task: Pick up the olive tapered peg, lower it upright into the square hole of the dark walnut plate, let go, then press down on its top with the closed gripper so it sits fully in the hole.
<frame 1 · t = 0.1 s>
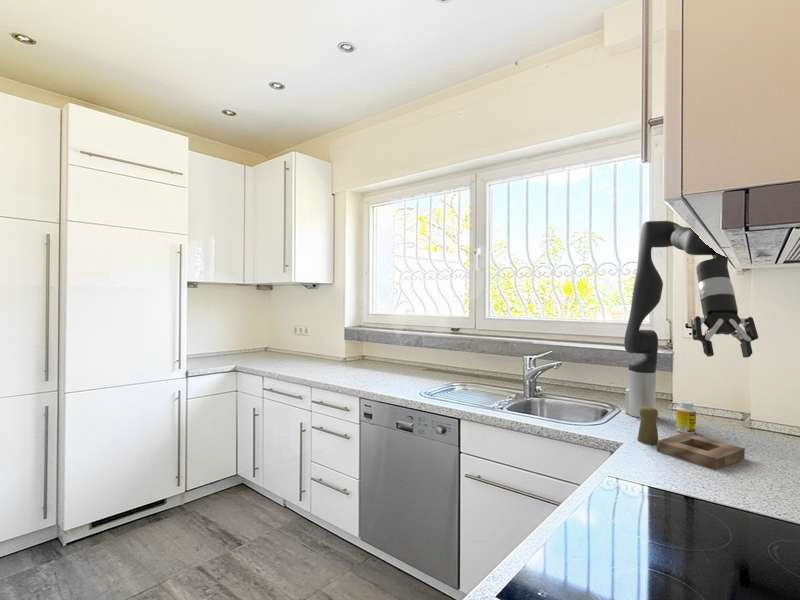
hand: (728, 356, 110), 31 cm above the worktop, tool tilted 20°, fingers open, 8 cm apart
supplement bottle: (685, 432, 147), on the worktop
olive tapered peg: (648, 442, 138), on the worktop
hole plate: (699, 454, 127), on the worktop
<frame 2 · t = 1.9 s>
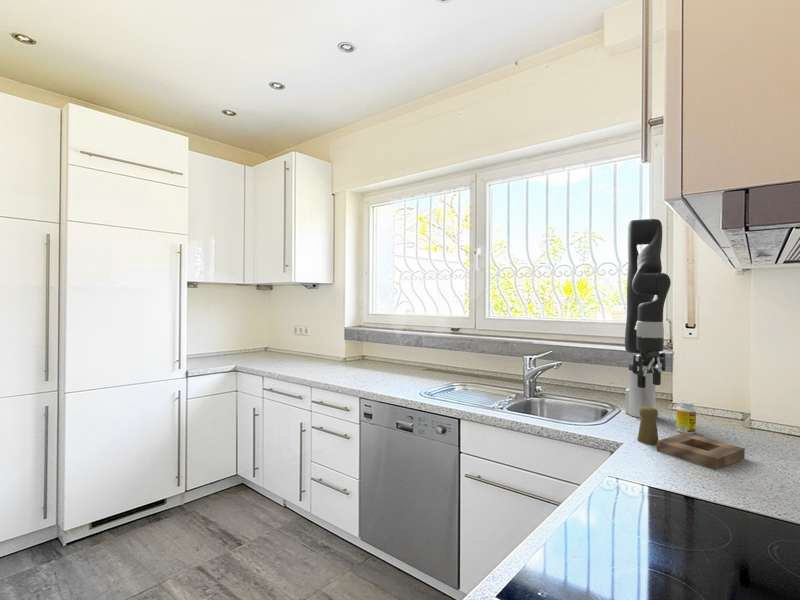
hand: (649, 386, 137), 18 cm above the worktop, tool pointing down, fingers open, 8 cm apart
nothing on the worktop moved.
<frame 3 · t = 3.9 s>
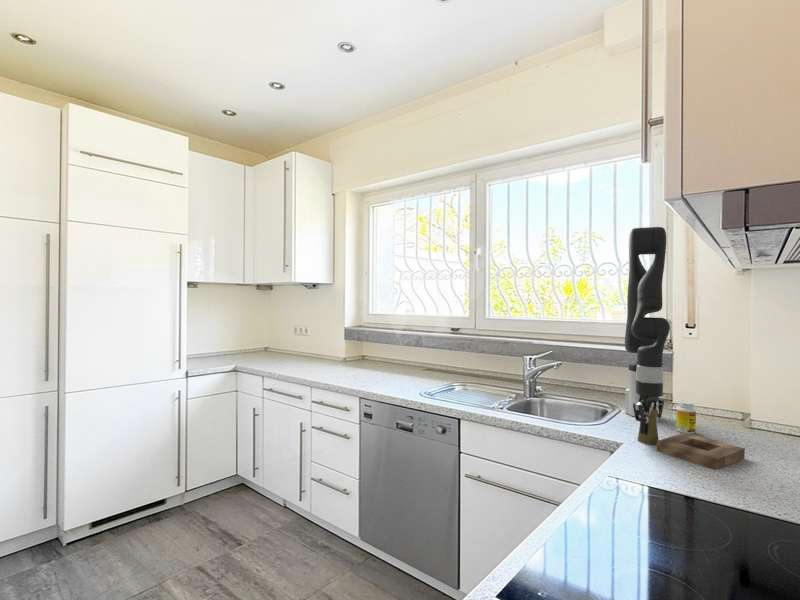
hand: (648, 432, 138), 3 cm above the worktop, tool pointing down, fingers closed on olive tapered peg, 4 cm apart
olive tapered peg: (648, 442, 138), on the worktop, touching gripper
everything else where it was.
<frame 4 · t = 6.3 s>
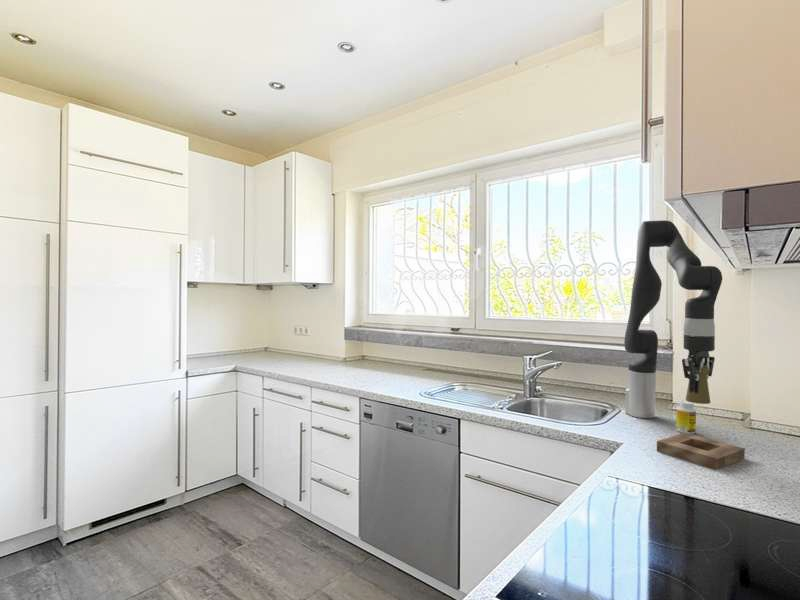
hand: (698, 391, 126), 19 cm above the worktop, tool pointing down, fingers closed on olive tapered peg, 4 cm apart
olive tapered peg: (697, 401, 127), point 16 cm above the worktop, touching gripper
everything else where it was.
when the fingers open (4 cm above the worktop, at t = 8.9 s): olive tapered peg stays where it is, resting in hole plate.
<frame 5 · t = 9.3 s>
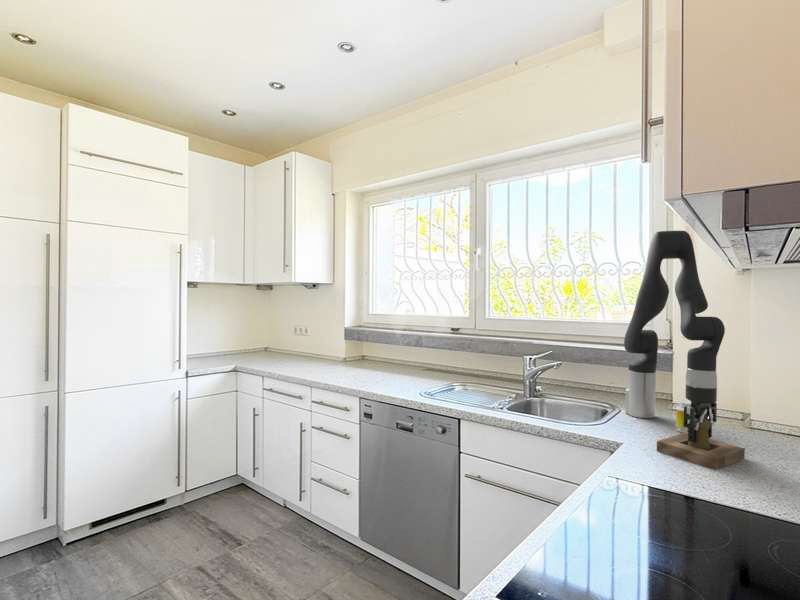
hand: (699, 439, 127), 4 cm above the worktop, tool pointing down, fingers open, 8 cm apart
olive tapered peg: (698, 455, 127), resting in hole plate
everything else where it was.
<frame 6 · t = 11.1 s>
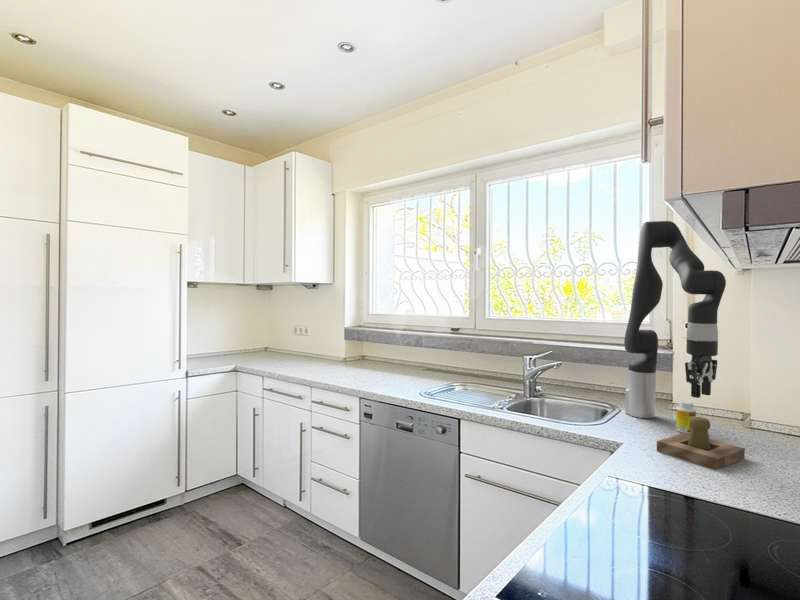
hand: (700, 395, 126), 17 cm above the worktop, tool pointing down, fingers open, 5 cm apart
nothing on the worktop moved.
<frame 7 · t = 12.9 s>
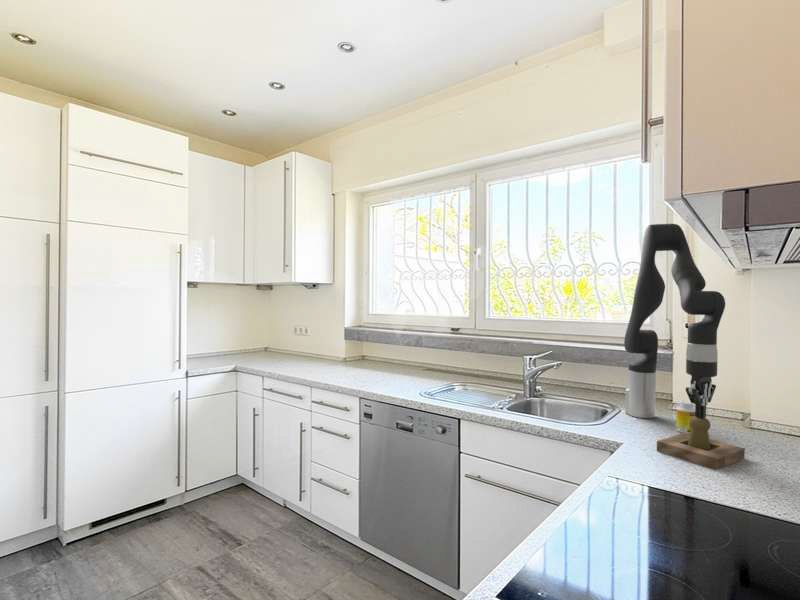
hand: (700, 417, 126), 11 cm above the worktop, tool pointing down, fingers closed
olive tapered peg: (698, 455, 127), resting in hole plate, touching gripper
everything else where it was.
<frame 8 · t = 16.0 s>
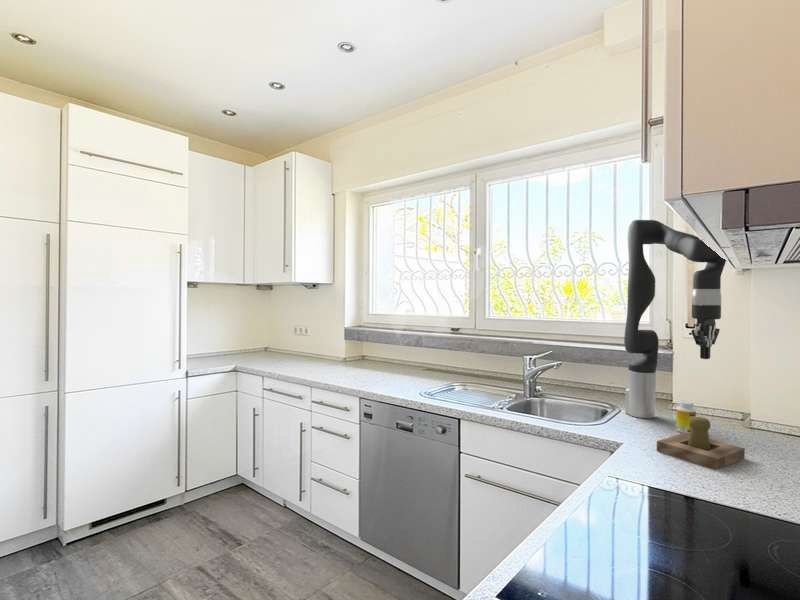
hand: (705, 358, 135), 27 cm above the worktop, tool pointing down, fingers closed
olive tapered peg: (698, 455, 127), resting in hole plate
everything else where it was.
at the end: olive tapered peg 0.2 cm off-centre on the hole plate, point 0.0 cm above the hole plate's base; olive tapered peg tilted 0°; the gripper is holding nothing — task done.
